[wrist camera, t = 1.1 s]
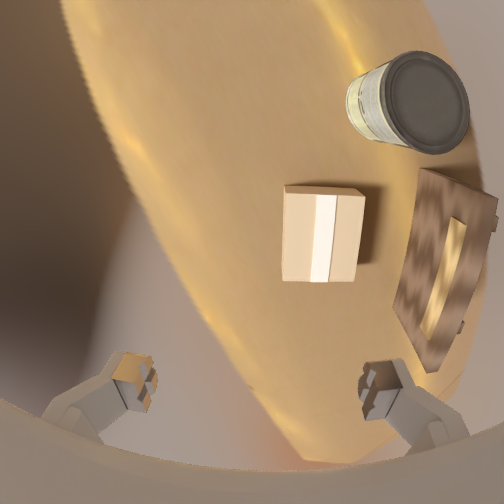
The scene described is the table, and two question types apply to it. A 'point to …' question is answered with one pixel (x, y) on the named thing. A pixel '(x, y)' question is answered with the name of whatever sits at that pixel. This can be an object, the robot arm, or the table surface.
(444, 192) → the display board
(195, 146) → the table surface
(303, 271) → the carton
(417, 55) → the coffee can
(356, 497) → the robot arm
